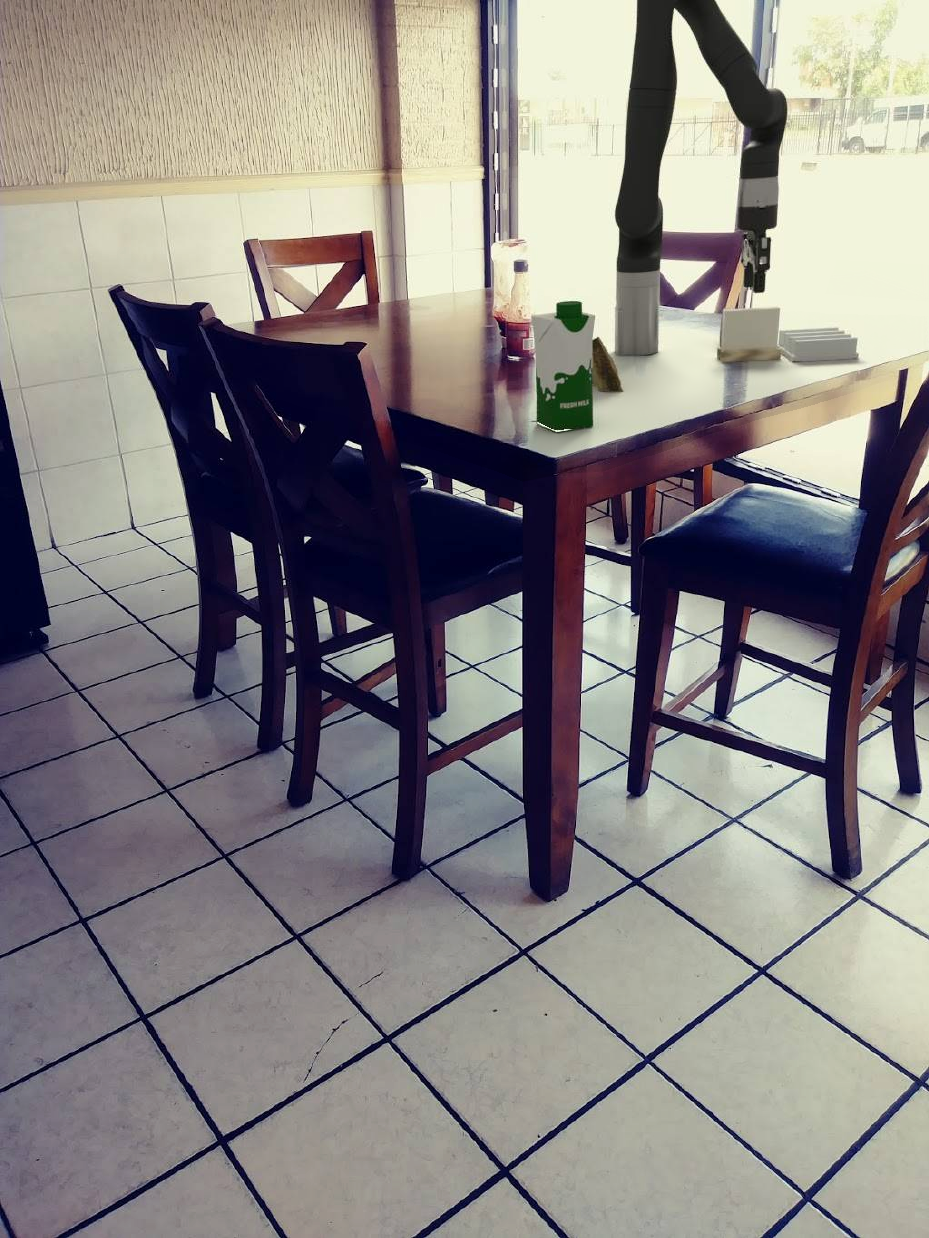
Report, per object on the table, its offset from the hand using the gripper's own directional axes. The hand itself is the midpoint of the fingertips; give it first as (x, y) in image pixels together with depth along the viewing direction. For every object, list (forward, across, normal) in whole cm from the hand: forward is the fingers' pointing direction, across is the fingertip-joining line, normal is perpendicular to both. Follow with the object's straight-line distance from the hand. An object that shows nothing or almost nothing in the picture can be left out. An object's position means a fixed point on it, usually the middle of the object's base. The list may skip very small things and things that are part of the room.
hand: (753, 290), depth 197 cm
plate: (+14, 0, 0) cm, 14 cm away
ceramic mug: (+14, -18, +1) cm, 23 cm away
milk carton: (+13, +47, -41) cm, 64 cm away
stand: (+14, 0, 0) cm, 14 cm away
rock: (+14, +19, -32) cm, 40 cm away
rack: (+14, -1, +14) cm, 19 cm away
